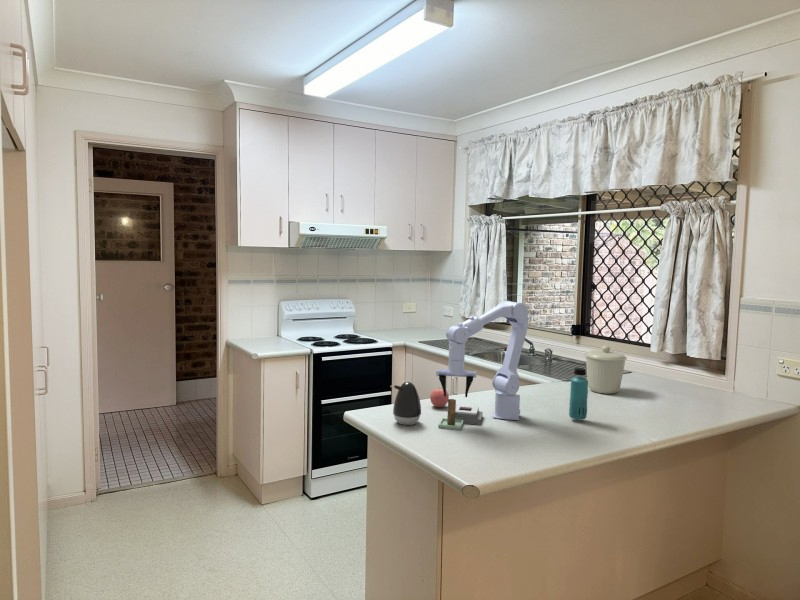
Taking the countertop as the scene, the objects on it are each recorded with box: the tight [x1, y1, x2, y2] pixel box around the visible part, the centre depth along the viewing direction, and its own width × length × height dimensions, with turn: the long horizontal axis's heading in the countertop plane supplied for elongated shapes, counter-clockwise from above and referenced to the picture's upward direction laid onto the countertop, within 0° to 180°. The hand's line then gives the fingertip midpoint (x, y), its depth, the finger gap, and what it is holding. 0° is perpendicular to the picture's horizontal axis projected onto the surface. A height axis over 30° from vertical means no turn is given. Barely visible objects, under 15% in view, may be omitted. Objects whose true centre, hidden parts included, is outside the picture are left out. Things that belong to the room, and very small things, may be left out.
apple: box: [429, 387, 450, 408], centre depth 224 cm, size 7×7×8 cm
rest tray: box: [437, 417, 465, 431], centre depth 202 cm, size 8×8×1 cm
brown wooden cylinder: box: [446, 398, 457, 426], centre depth 201 cm, size 3×3×9 cm
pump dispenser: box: [392, 381, 422, 426], centre depth 203 cm, size 10×10×15 cm
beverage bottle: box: [568, 367, 589, 420], centre depth 210 cm, size 6×7×20 cm
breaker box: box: [446, 404, 484, 426], centre depth 209 cm, size 12×10×4 cm
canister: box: [584, 345, 628, 395], centre depth 255 cm, size 18×18×21 cm
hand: (455, 395), depth 204 cm, fingers open, 7 cm apart
